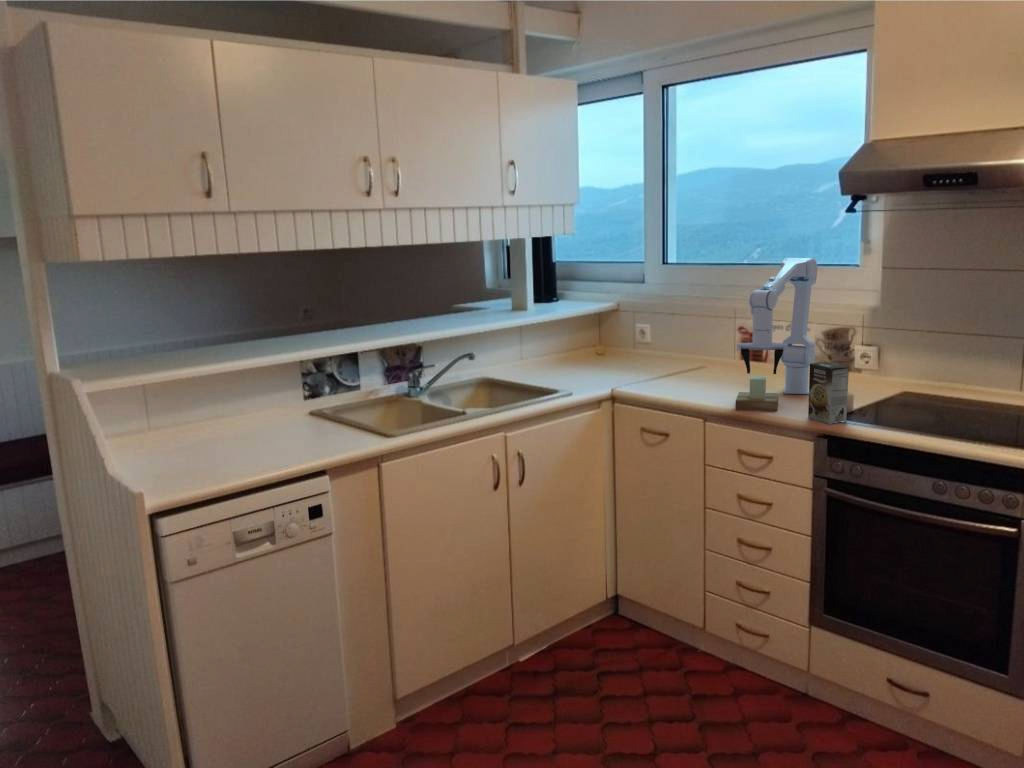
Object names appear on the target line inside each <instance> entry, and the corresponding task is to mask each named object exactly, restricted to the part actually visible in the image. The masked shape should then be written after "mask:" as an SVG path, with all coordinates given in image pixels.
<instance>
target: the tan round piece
mask: <svg viewBox="0 0 1024 768" xmlns="http://www.w3.org/2000/svg"><path fill="white" fill-rule="evenodd" d="M854 401H855V394H854V393H853V392H848V395H847V413H851V412H850V411H853V412H854V405H855V404H854V403H855V402H854Z"/></svg>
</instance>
